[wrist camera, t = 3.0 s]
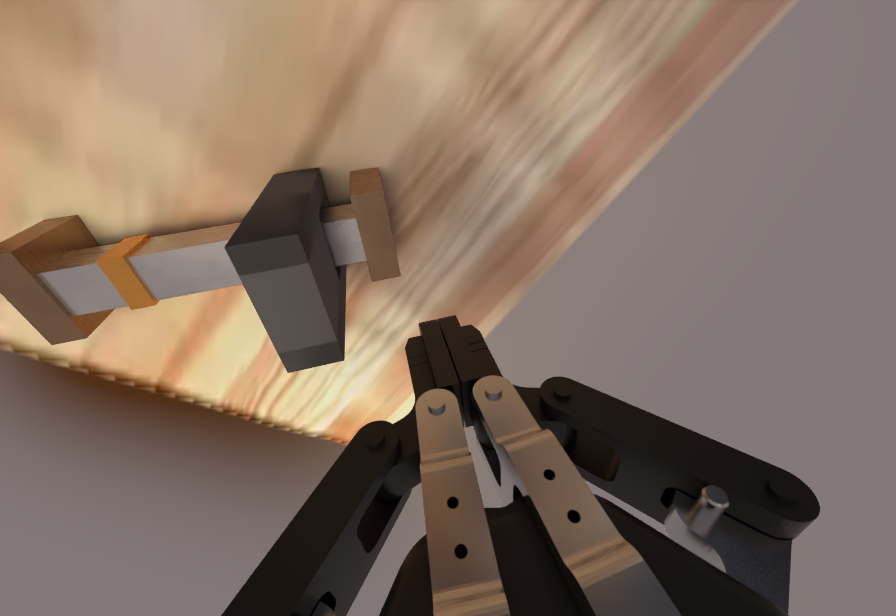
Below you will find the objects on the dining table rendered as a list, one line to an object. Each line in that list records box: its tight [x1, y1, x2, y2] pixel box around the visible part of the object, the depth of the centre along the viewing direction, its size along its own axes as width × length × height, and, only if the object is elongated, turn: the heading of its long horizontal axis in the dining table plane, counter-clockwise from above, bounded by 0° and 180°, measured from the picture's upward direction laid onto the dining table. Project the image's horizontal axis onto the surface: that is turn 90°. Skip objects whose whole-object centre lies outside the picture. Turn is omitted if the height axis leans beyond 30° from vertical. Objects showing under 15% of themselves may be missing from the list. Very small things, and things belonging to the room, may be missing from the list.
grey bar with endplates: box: [0, 167, 401, 345], centre depth 24 cm, size 22×6×6 cm, turn 96°
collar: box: [224, 168, 346, 373], centre depth 22 cm, size 3×7×12 cm, turn 6°
